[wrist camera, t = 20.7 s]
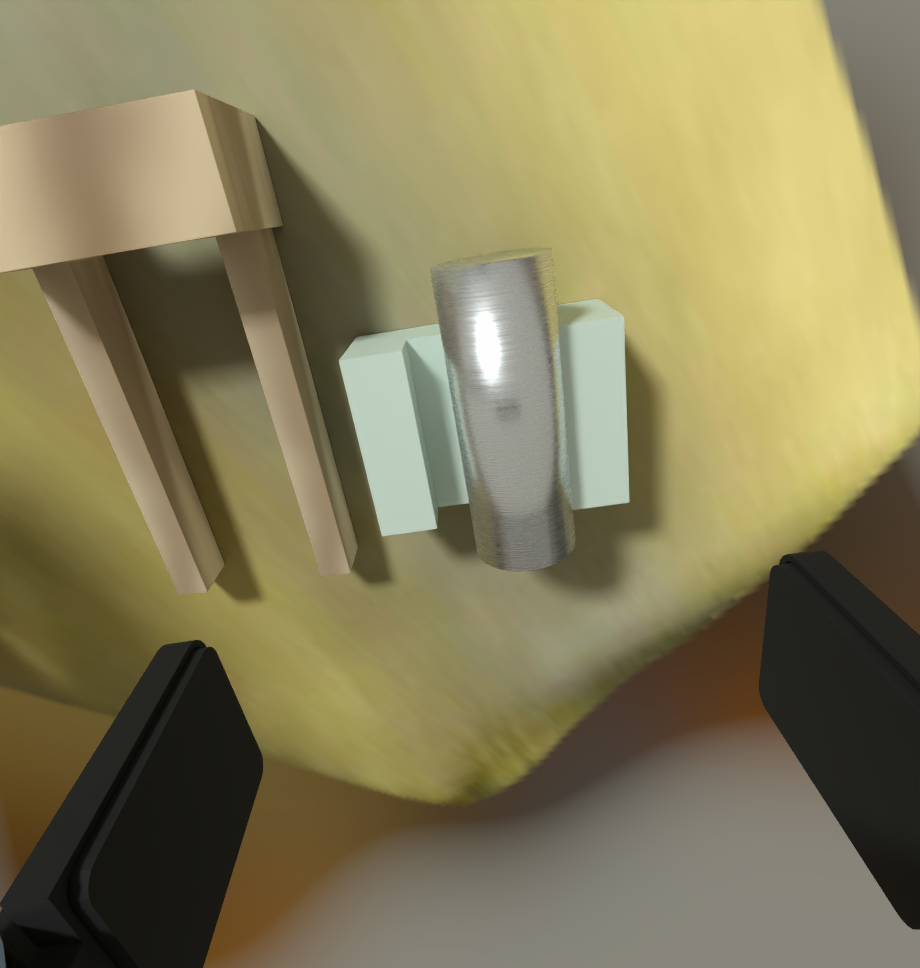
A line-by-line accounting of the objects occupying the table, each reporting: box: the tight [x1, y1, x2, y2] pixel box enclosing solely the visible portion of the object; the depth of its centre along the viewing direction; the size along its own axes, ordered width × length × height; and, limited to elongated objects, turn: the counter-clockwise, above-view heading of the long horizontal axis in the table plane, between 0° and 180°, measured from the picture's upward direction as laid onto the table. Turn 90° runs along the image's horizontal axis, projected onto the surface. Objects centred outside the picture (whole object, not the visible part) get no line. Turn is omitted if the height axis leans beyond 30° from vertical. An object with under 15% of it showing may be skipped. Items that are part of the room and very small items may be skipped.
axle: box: [430, 248, 576, 571], centre depth 23 cm, size 12×4×4 cm
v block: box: [339, 299, 629, 536], centre depth 26 cm, size 11×8×4 cm
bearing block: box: [0, 90, 358, 596], centre depth 25 cm, size 10×20×6 cm, turn 9°
